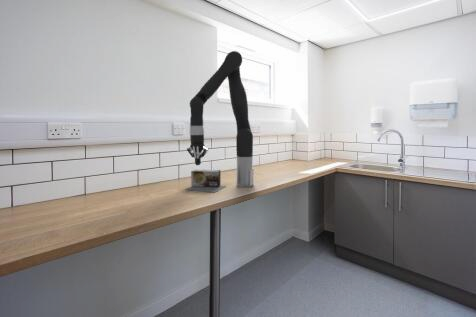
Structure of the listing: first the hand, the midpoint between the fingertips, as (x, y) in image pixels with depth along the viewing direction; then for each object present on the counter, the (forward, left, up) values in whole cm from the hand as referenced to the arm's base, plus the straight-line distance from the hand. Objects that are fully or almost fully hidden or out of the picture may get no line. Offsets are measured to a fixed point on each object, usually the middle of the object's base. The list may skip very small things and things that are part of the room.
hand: (197, 164), depth 148 cm
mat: (-5, 0, -13) cm, 14 cm away
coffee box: (+5, -1, -8) cm, 9 cm away
